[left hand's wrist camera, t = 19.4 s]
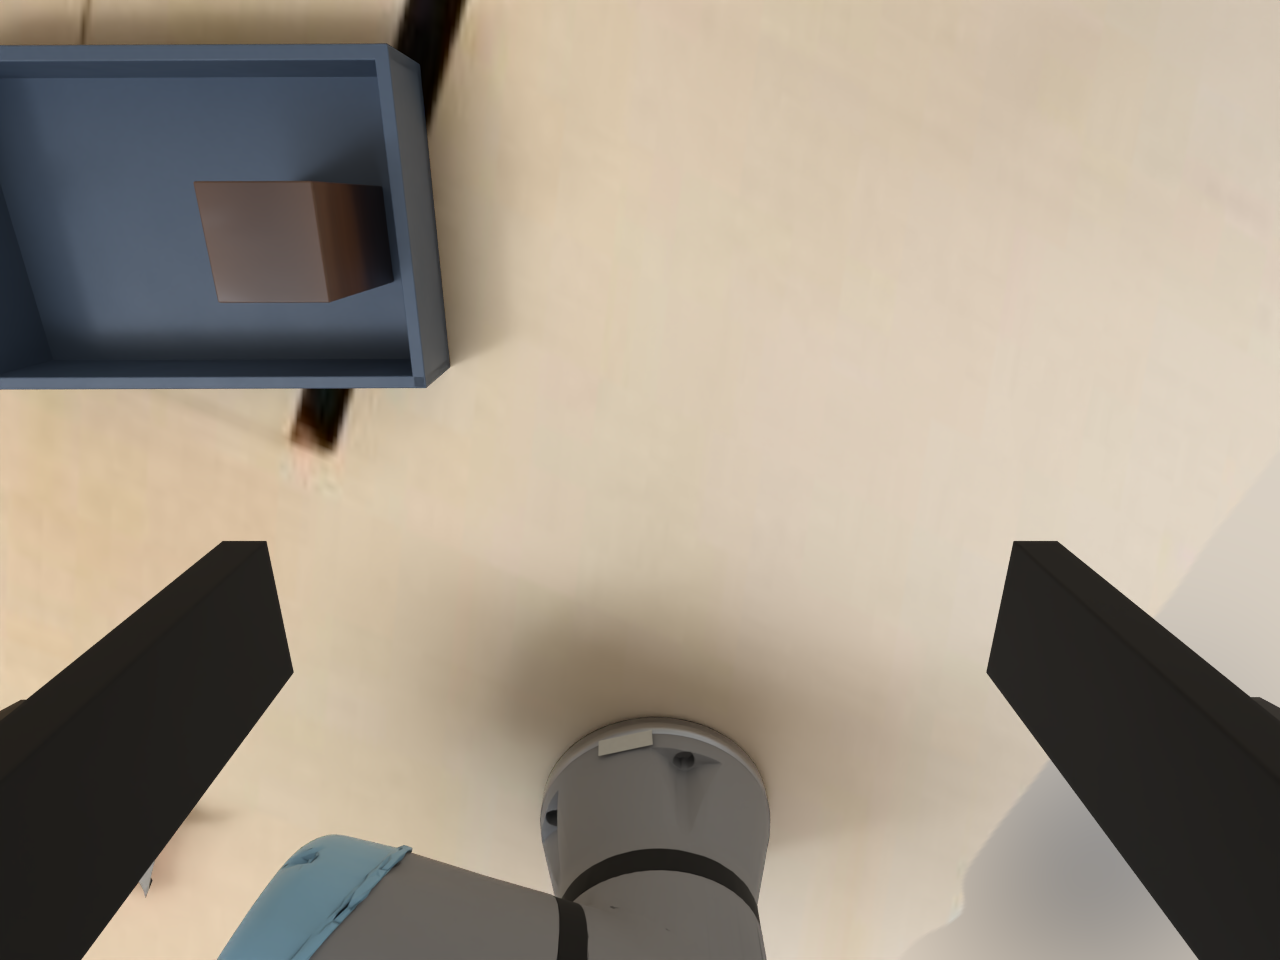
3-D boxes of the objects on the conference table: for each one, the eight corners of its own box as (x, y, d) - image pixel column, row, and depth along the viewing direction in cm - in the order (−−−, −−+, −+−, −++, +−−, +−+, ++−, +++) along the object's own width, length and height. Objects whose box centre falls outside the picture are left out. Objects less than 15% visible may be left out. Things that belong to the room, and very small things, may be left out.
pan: (420, 63, 33) (366, 29, 27) (450, 367, 38) (411, 401, 32) (-210, 66, 33) (-418, 32, 27) (-96, 369, 38) (-247, 403, 32)
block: (382, 185, 34) (311, 180, 27) (394, 282, 36) (330, 302, 29) (288, 186, 34) (192, 181, 27) (305, 282, 36) (217, 302, 29)
